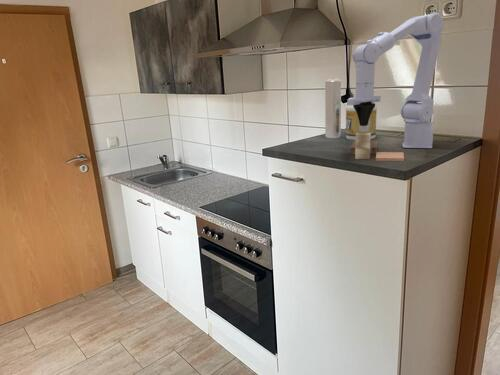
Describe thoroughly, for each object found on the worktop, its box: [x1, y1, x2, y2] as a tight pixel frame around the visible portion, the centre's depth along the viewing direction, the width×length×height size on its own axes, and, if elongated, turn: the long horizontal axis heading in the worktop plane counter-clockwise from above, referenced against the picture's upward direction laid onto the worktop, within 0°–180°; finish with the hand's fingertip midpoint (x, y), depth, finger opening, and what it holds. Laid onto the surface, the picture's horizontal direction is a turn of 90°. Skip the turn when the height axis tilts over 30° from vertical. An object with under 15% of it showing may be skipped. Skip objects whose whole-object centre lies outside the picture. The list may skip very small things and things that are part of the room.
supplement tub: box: [345, 97, 378, 141], centre depth 160 cm, size 12×12×17 cm
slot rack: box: [350, 140, 379, 156], centre depth 138 cm, size 8×14×2 cm, turn 161°
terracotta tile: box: [375, 151, 405, 162], centre depth 125 cm, size 8×9×1 cm
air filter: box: [324, 78, 342, 139], centre depth 166 cm, size 6×6×25 cm
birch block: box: [354, 133, 372, 160], centre depth 127 cm, size 4×4×8 cm
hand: (363, 125), depth 129 cm, fingers closed
